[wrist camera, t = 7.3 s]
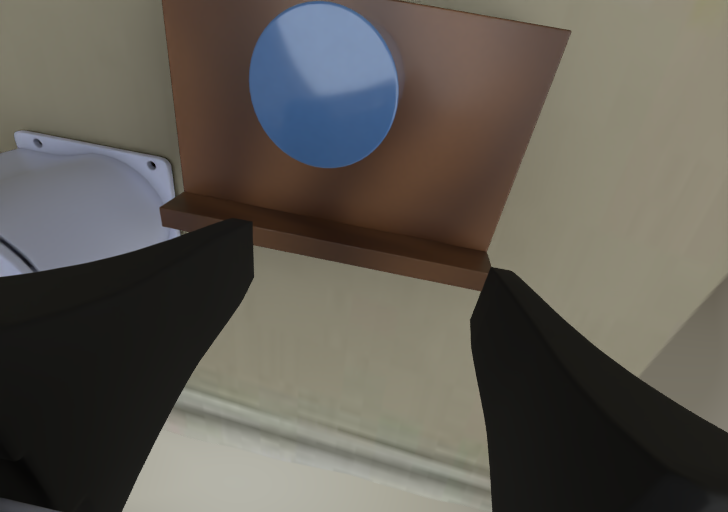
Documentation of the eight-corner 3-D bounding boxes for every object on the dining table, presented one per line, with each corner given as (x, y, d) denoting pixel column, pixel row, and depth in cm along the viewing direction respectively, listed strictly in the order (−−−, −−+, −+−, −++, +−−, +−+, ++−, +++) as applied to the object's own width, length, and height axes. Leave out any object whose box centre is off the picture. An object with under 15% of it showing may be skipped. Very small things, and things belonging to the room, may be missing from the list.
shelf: (222, 183, 22) (161, 226, 17) (211, -25, 16) (116, -55, 11) (470, 232, 21) (486, 293, 16) (540, 32, 16) (596, 28, 11)
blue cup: (291, 126, 15) (249, 155, 12) (297, 3, 13) (245, -14, 9) (392, 146, 15) (383, 181, 11) (416, 23, 13) (414, 16, 9)
